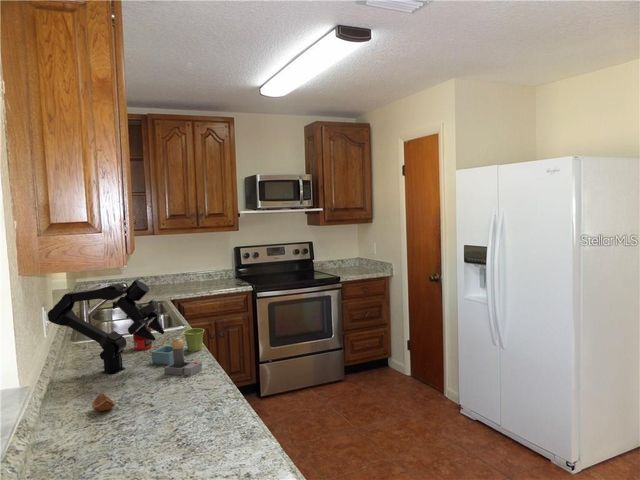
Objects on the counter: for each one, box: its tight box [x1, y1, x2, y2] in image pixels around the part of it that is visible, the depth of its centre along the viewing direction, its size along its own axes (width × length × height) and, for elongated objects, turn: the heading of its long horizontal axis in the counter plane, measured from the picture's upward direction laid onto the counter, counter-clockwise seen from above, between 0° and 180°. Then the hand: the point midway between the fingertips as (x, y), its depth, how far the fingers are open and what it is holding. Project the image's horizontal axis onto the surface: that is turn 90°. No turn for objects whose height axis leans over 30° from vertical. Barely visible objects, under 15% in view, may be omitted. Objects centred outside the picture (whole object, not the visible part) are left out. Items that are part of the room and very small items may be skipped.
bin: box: [151, 345, 174, 366], centre depth 201 cm, size 9×9×5 cm
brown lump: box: [91, 391, 116, 412], centre depth 154 cm, size 8×7×5 cm
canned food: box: [132, 324, 153, 352], centre depth 221 cm, size 8×8×11 cm
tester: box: [163, 360, 203, 377], centre depth 187 cm, size 8×12×4 cm, turn 68°
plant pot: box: [182, 328, 205, 353], centre depth 215 cm, size 9×9×9 cm
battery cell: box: [171, 337, 185, 368], centre depth 188 cm, size 4×4×13 cm
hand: (159, 336), depth 189 cm, fingers open, 9 cm apart
